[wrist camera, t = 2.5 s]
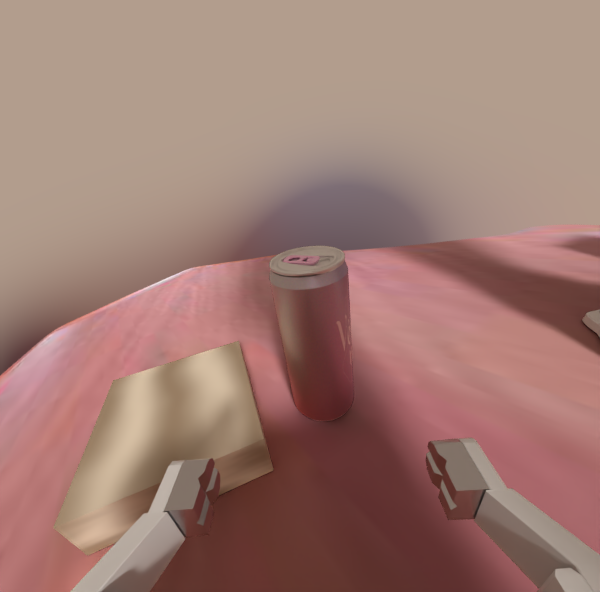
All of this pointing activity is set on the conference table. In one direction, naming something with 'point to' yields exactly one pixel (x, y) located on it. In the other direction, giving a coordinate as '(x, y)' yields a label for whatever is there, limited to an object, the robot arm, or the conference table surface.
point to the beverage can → (315, 328)
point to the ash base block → (163, 441)
